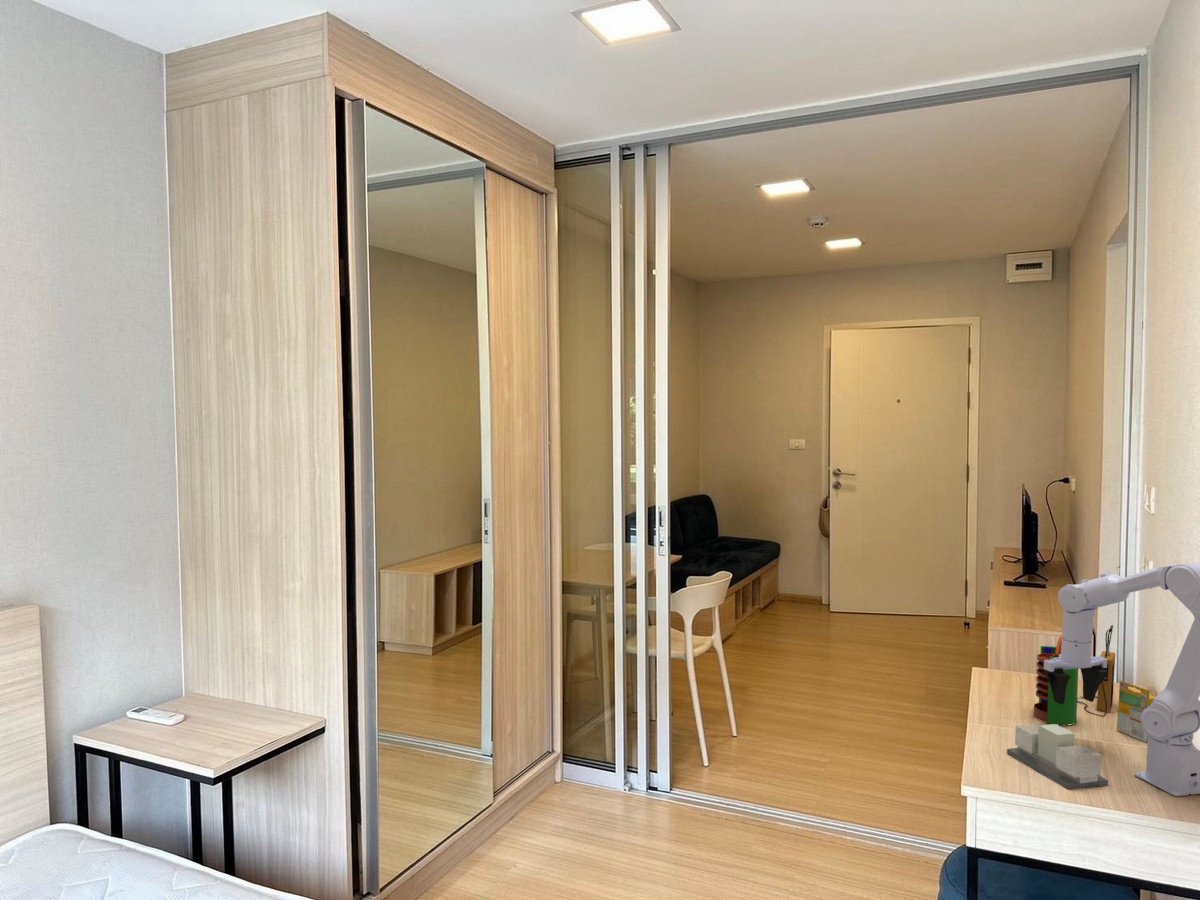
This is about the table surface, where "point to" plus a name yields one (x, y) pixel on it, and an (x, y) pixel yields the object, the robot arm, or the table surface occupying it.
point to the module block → (1053, 740)
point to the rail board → (1052, 771)
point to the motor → (1047, 705)
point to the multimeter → (1106, 680)
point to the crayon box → (1132, 710)
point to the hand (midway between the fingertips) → (1073, 701)
